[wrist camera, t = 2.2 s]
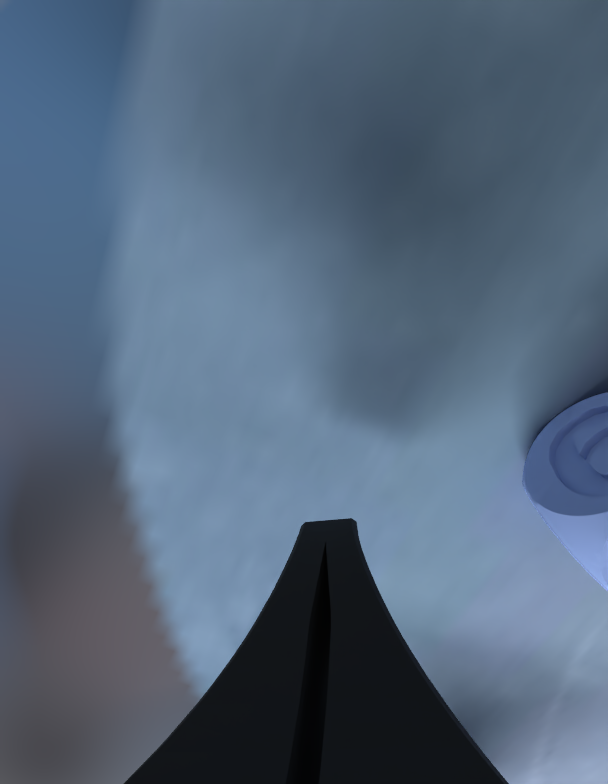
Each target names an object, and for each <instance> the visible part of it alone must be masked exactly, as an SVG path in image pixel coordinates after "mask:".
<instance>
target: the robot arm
mask: <svg viewBox="0 0 608 784" xmlns="http://www.w3.org/2000/svg"><path fill="white" fill-rule="evenodd" d="M124 784H509V783H508V782H507V781H506V780H505V779H504V778H503V776H502V775H501V774H500V773H499V772H498V770H497V769H496V768H495V767H494V766H493V764H492V763H491V762H490V761H489V759H488V758H487V757H486V756H485V754H484V753H483V752H482V751H481V749H480V748H479V747H478V746H477V744H476V743H475V742H474V740H473V739H472V738H471V736H470V735H469V734H468V733H467V731H466V730H465V729H464V727H463V726H462V725H461V723H460V722H459V721H458V719H457V718H456V717H455V715H454V714H453V713H452V711H451V710H450V708H449V707H448V705H447V704H446V703H445V701H444V700H443V698H442V697H441V695H440V694H439V693H438V691H437V690H436V688H435V687H434V685H433V684H432V683H431V681H430V680H429V678H428V677H427V675H426V674H425V672H424V671H423V669H422V668H421V666H420V664H419V663H418V661H417V660H416V658H415V657H414V655H413V653H412V652H411V650H410V648H409V647H408V645H407V643H406V642H405V640H404V638H403V637H402V635H401V633H400V631H399V630H398V628H397V626H396V624H395V622H394V620H393V619H392V617H391V615H390V613H389V611H388V609H387V607H386V605H385V603H384V601H383V599H382V597H381V595H380V593H379V591H378V588H377V586H376V584H375V582H374V579H373V577H372V575H371V572H370V570H369V568H368V565H367V562H366V560H365V557H364V554H363V551H362V548H361V545H360V541H359V536H358V530H357V523H356V521H355V520H353V519H352V518H350V519H338V520H326V521H315V522H305V523H304V524H303V525H302V526H301V529H300V532H299V535H298V537H297V540H296V542H295V545H294V547H293V550H292V552H291V554H290V556H289V559H288V561H287V563H286V565H285V567H284V569H283V571H282V573H281V575H280V578H279V580H278V582H277V584H276V586H275V588H274V590H273V591H272V593H271V595H270V597H269V599H268V601H267V602H266V604H265V606H264V608H263V609H262V611H261V613H260V615H259V616H258V618H257V620H256V622H255V623H254V625H253V626H252V628H251V630H250V631H249V633H248V634H247V636H246V638H245V639H244V641H243V642H242V644H241V645H240V647H239V648H238V650H237V651H236V653H235V654H234V656H233V657H232V658H231V660H230V661H229V663H228V664H227V665H226V667H225V668H224V669H223V671H222V672H221V673H220V675H219V676H218V677H217V679H216V680H215V682H214V683H213V684H212V686H211V687H210V688H209V689H208V691H207V692H206V693H205V694H204V696H203V697H202V698H201V699H200V701H199V702H198V703H197V704H196V705H195V707H194V708H193V709H192V710H191V711H190V712H189V714H188V715H187V716H186V717H185V718H184V720H183V721H182V722H181V723H180V724H179V725H178V726H177V728H176V729H175V730H174V731H173V732H172V733H171V735H170V736H169V737H168V738H167V739H166V740H165V741H164V742H163V744H162V745H161V746H160V747H159V748H158V749H157V750H156V751H155V752H154V753H153V754H152V755H151V756H150V757H149V758H148V759H147V760H146V761H145V762H144V763H143V764H142V765H141V766H140V767H139V768H138V770H136V772H135V773H134V774H133V775H132V776H131V777H130V778H129V779H128V780H127V781H126V782H125V783H124Z"/></svg>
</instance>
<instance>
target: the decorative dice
mask: <svg viewBox="0 0 608 784" xmlns="http://www.w3.org/2000/svg"><path fill="white" fill-rule="evenodd" d="M522 483H523V487H524V489H525V491H526V493H527V495H528V497H529V499H530V501H531V502H532V504H533V505H534V507H535V508H536V510H537V511H538V513H539V514H540V516H541V517H542V518H543V520H544V521H545V523H546V524H547V525H548V527H549V528H550V529H551V530H552V532H553V533H554V534H555V535H556V537H557V538H558V539H559V540H560V542H561V543H562V544H563V545H564V546H565V548H566V549H567V550H568V551H569V552H570V553H571V555H572V556H573V557H574V558H575V559H576V560H577V561H578V562H579V563H580V565H581V566H582V567H583V568H584V569H585V570H586V571H587V572H588V573H589V574H590V575H591V576H592V577H593V578H594V579H595V580H596V581H597V582H598V583H599V584H600V585H601V586H602V587H604V588H605V589H606V590H607V591H608V392H607V393H602V394H599V395H595V396H592V397H589V398H587V399H585V400H582V401H580V402H578V403H576V404H574V405H573V406H571V407H569V408H568V409H566V410H564V411H563V412H562V413H560V414H559V415H558V416H556V417H555V418H554V419H553V420H552V421H551V422H549V423H548V424H547V425H546V426H545V428H544V429H543V430H542V431H541V432H540V434H539V435H538V436H537V438H536V439H535V441H534V442H533V444H532V446H531V448H530V450H529V452H528V455H527V458H526V462H525V466H524V471H523V480H522Z"/></svg>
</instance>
